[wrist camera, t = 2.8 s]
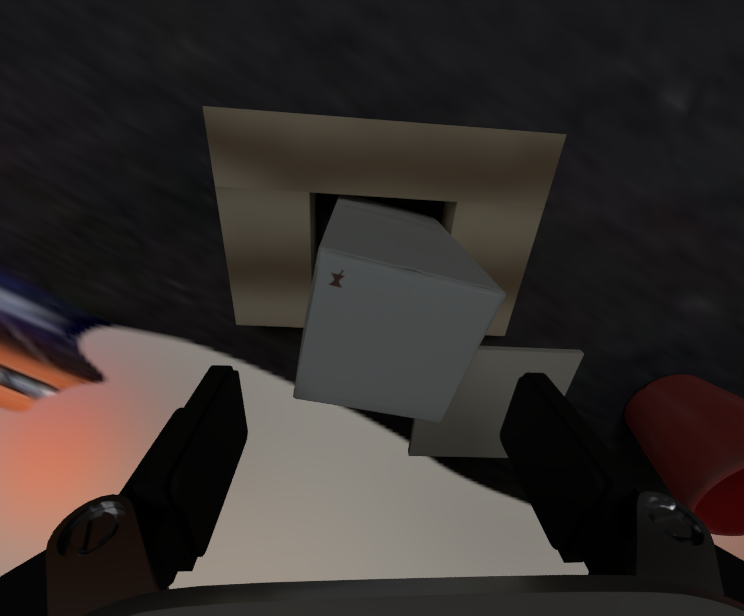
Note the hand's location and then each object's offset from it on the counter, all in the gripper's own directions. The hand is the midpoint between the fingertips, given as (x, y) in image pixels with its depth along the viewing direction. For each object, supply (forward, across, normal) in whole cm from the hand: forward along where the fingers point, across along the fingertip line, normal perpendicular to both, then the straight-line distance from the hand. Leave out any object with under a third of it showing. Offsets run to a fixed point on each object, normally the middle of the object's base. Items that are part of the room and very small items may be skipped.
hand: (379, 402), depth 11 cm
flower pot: (+15, -31, +14) cm, 37 cm away
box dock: (+15, -1, -2) cm, 15 cm away
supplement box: (+15, -1, 0) cm, 15 cm away
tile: (+15, -13, +14) cm, 25 cm away
